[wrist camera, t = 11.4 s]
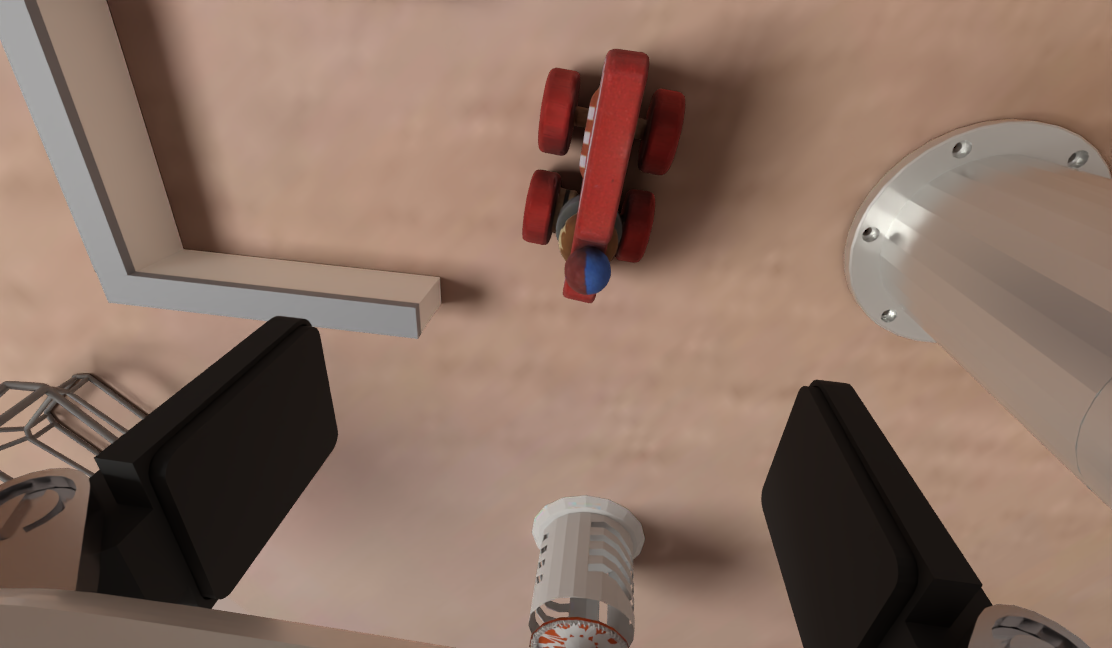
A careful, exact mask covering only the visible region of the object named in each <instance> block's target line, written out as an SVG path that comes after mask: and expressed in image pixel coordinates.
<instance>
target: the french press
mask: <svg viewBox="0 0 1112 648" xmlns="http://www.w3.org/2000/svg"><path fill="white" fill-rule="evenodd" d="M532 534H533V537H534V539H535V542H536V544H537V547H538V548H539V549H540V554H541V555H540V556H539V562H538V566H539V569H538V568H537V574H536V581H537V584H536V581H535V587H534V594H533V599H532V606H531V612H530V619H529V628H530V630H531V633H532V635H531V640H530V645H529V647H530V648H629V647H630V645H631V643H632V641H633V637H634V613H633V611H634V597H633V593H634V583H633V559H634V558H635V557H637V556H638V555H639V554H640V552H641V549H642V546H643V544H644V541H645V537H644V533H643V529H642V525H641V523H640V522H639V521H638V520H637V519H636V518H635V516H634V515H633V514H632V513H631V512H630V511H629V510H628V509H626V508H624V507H622V506H620V505H618V504H616V503H614V502H613V501H611V500H608V499H603V498H597V497H592V496H587V495H584V496H574V497H564V498H561V499H559V500H557V501H555V502H552V503H550V504H548V505H546V506H545V507H544V508H543V509H542V510H541V511H540V512H539V514H538V515H537V516H536V517H535V518H534V524H533V529H532ZM541 561H542V565H543V566H542V567H541V565H540V562H541ZM631 570H632V575H631V572H630V571H631ZM607 573H608V575H607ZM542 574H543V575H542ZM539 575H540V579H541V582H539V580H538V576H539ZM631 584H632V590H631V586H630V585H631ZM568 597H570V603H569V604H558V603H555V602H553V601H551V600H554V599H557V598H568ZM631 599H632V602H633V606H631V603H630V600H631ZM599 601H602V602H604V603H606V604H608V613H607V625H606V624H604V623H602V622H600V621H599ZM542 604H544V605H545V606H546V608H548V609H551V610H554V611H557V612H569V616H568V617H561V618H557V619H556V618H553V617H550V616H547V615H545V613H544V612H543V610H542V609H541V608H540V606H541V605H542ZM535 610H536V613H537V614H538V615H539V617H540V618H541V619H542V621H543V622H544V623H543V624H542V625H541V626H539V625H538V623H537V622H536V619H535V612H534V611H535ZM629 619H630V620H631V622H632V624H630V625H629Z"/></svg>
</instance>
